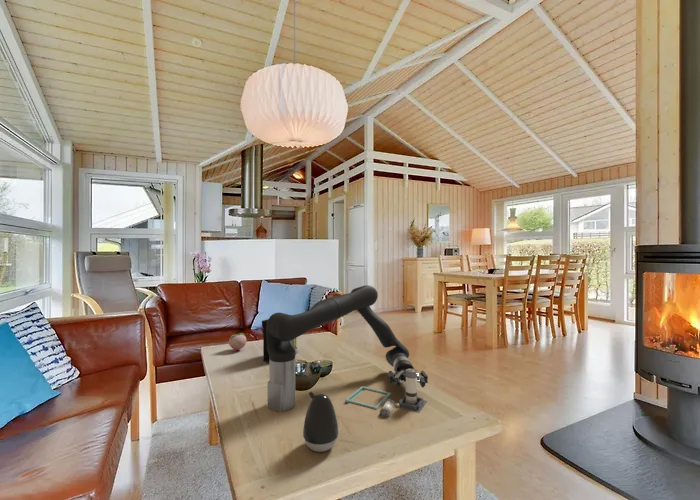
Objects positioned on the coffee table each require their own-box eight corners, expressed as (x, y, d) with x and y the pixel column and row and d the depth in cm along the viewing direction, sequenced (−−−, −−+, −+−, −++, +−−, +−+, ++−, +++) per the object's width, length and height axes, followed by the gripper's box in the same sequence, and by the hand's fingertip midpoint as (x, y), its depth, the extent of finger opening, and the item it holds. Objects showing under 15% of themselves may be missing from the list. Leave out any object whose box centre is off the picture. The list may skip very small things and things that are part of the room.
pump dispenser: (323, 432, 107) (323, 383, 107) (345, 446, 100) (345, 394, 99) (295, 445, 100) (295, 393, 100) (317, 462, 93) (317, 406, 92)
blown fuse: (414, 407, 121) (415, 373, 121) (403, 404, 123) (404, 371, 123) (418, 402, 125) (418, 369, 125) (407, 400, 127) (407, 367, 127)
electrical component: (275, 364, 167) (275, 323, 166) (260, 360, 172) (260, 320, 172) (299, 354, 182) (299, 316, 181) (284, 351, 187) (284, 314, 186)
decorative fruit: (236, 354, 181) (236, 335, 181) (226, 351, 185) (226, 333, 185) (250, 349, 189) (250, 331, 189) (240, 347, 193) (240, 329, 193)
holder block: (419, 415, 118) (419, 409, 118) (394, 409, 122) (394, 403, 122) (427, 403, 126) (427, 397, 126) (404, 398, 131) (404, 392, 131)
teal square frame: (376, 412, 120) (376, 407, 120) (345, 403, 126) (345, 399, 126) (391, 396, 132) (391, 392, 132) (362, 389, 138) (362, 386, 138)
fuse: (388, 420, 115) (389, 410, 115) (379, 417, 116) (380, 407, 116) (394, 409, 122) (395, 400, 122) (385, 406, 124) (386, 397, 123)
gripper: (386, 359, 140) (391, 374, 124) (421, 359, 140) (431, 374, 124) (385, 377, 140) (391, 395, 124) (420, 377, 140) (431, 395, 124)
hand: (411, 384), depth 124 cm, fingers open, 8 cm apart
